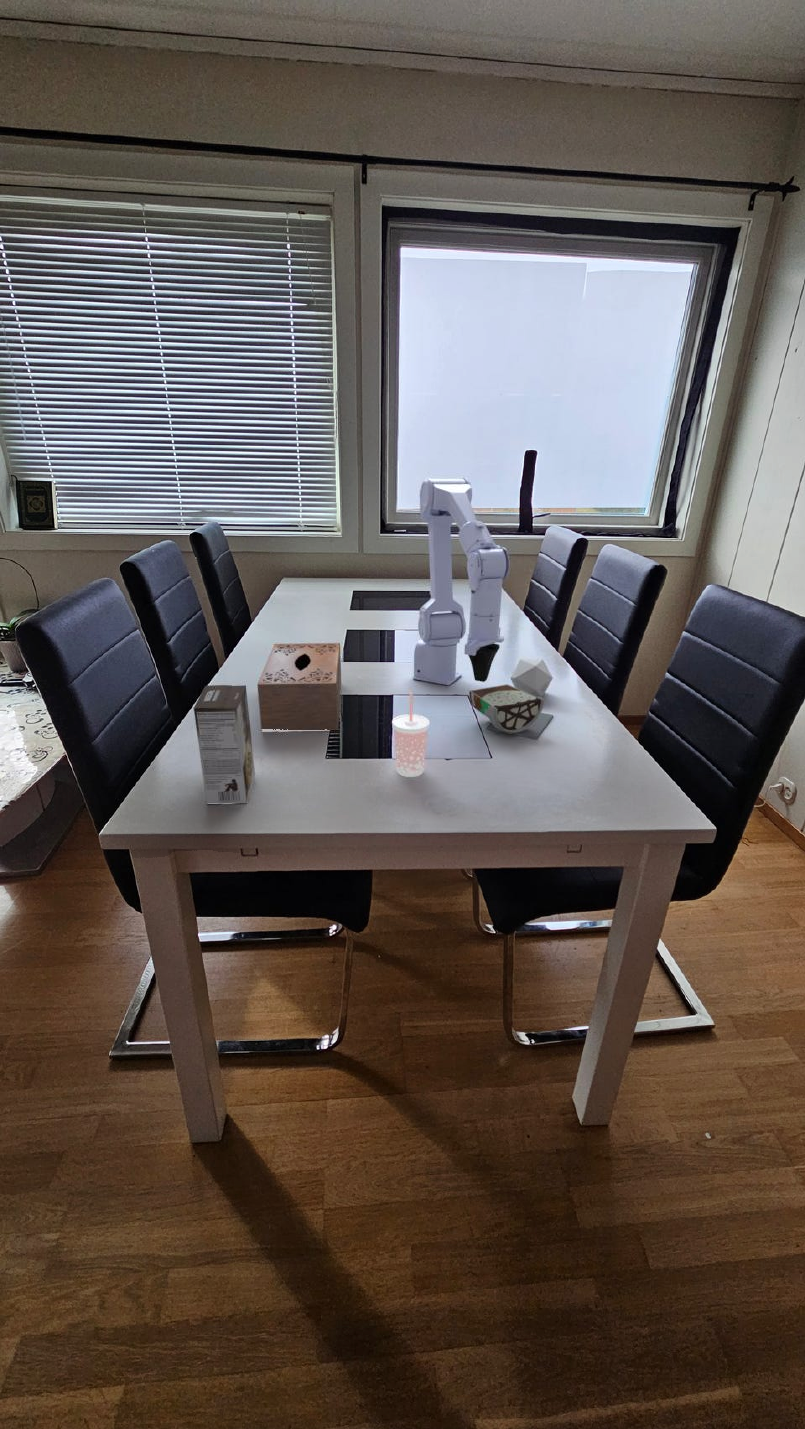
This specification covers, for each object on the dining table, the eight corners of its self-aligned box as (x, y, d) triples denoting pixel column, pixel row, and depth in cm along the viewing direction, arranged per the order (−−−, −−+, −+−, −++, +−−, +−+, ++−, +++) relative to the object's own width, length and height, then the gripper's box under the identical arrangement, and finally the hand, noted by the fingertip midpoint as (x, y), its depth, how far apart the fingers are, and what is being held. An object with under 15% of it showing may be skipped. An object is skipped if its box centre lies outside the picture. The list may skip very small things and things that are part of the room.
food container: (460, 721, 121) (491, 740, 113) (462, 691, 119) (494, 709, 111) (509, 711, 127) (542, 729, 119) (513, 683, 125) (546, 699, 117)
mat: (486, 728, 120) (486, 726, 120) (505, 707, 129) (506, 705, 129) (536, 739, 116) (536, 737, 115) (553, 716, 125) (553, 714, 125)
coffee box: (216, 776, 101) (204, 684, 95) (256, 775, 102) (247, 683, 96) (204, 806, 93) (191, 707, 87) (248, 804, 94) (238, 706, 87)
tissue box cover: (277, 685, 141) (274, 643, 137) (341, 685, 142) (340, 643, 138) (261, 733, 117) (257, 684, 113) (338, 732, 118) (336, 683, 114)
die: (540, 707, 131) (564, 669, 131) (506, 686, 131) (530, 647, 131) (531, 706, 140) (554, 670, 139) (499, 686, 139) (522, 650, 139)
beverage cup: (430, 778, 101) (432, 699, 96) (393, 779, 101) (393, 700, 95) (425, 761, 107) (428, 685, 101) (390, 762, 106) (390, 686, 101)
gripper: (492, 624, 110) (487, 695, 116) (516, 607, 122) (511, 672, 127) (455, 619, 113) (452, 688, 119) (483, 603, 125) (479, 667, 130)
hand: (480, 680), depth 123 cm, fingers closed
